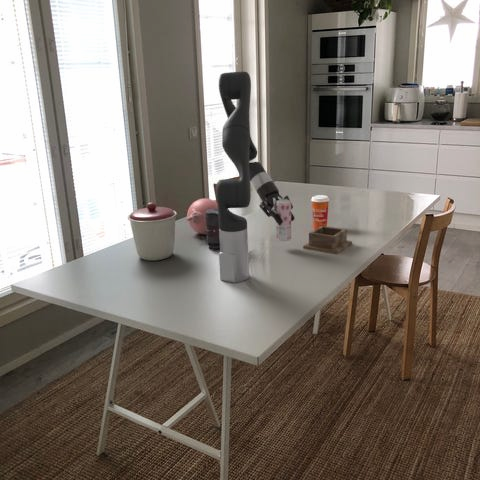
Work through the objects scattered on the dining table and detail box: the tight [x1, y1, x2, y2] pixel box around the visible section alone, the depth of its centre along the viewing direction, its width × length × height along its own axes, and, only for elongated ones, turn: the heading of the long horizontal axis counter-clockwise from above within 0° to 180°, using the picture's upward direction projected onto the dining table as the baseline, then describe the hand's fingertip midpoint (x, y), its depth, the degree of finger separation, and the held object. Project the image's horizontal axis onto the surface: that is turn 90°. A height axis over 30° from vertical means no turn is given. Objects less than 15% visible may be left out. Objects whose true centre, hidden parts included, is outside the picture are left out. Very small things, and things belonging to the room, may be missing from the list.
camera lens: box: [205, 209, 220, 252], centre depth 203 cm, size 8×8×15 cm
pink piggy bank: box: [186, 198, 218, 236], centre depth 220 cm, size 15×20×15 cm
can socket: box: [302, 226, 353, 255], centre depth 201 cm, size 14×14×6 cm
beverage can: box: [275, 199, 292, 242], centre depth 197 cm, size 6×6×15 cm
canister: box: [127, 201, 178, 261], centre depth 195 cm, size 18×18×21 cm
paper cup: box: [311, 194, 331, 230], centre depth 223 cm, size 8×8×14 cm
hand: (287, 221), depth 196 cm, fingers closed on beverage can, 5 cm apart
